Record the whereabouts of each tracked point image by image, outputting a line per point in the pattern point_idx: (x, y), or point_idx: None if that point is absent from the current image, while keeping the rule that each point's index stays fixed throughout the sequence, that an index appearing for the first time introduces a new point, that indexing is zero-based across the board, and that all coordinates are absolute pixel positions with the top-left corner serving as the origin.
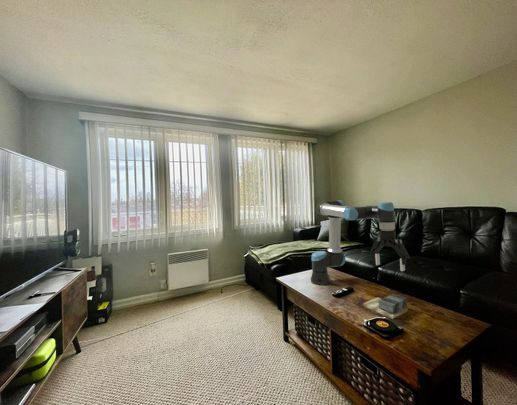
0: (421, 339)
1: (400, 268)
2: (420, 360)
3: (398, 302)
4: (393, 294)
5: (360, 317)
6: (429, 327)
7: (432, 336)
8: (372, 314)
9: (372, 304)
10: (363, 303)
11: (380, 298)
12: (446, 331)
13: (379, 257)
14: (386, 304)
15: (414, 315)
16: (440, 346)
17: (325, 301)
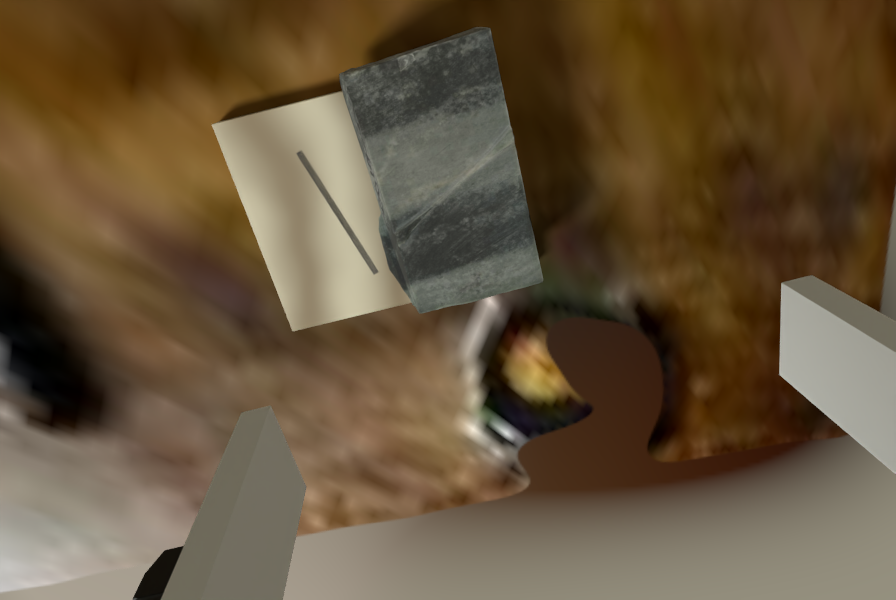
0: (751, 288)
1: (813, 402)
2: (822, 419)
3: (522, 191)
4: (365, 83)
5: (436, 435)
6: (713, 122)
7: (771, 204)
8: (431, 346)
9: (333, 279)
10: (294, 330)
11: (241, 120)
12: (797, 57)
13: (225, 540)
14: (487, 294)
15: (562, 63)
16: (836, 251)
17: (161, 519)
